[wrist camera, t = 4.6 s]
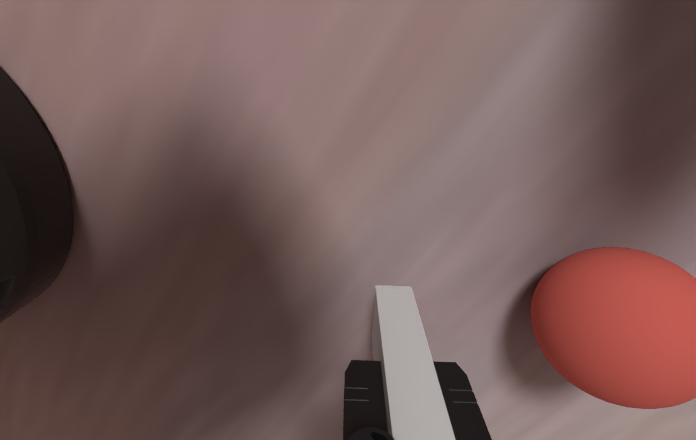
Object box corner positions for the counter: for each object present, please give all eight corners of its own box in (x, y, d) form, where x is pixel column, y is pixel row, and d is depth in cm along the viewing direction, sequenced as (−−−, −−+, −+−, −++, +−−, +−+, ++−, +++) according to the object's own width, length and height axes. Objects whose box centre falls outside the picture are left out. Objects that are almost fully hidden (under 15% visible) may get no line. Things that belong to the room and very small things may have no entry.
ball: (496, 329, 17) (564, 446, 12) (521, 222, 15) (622, 308, 10) (612, 330, 17) (734, 449, 12) (656, 224, 15) (833, 310, 10)
